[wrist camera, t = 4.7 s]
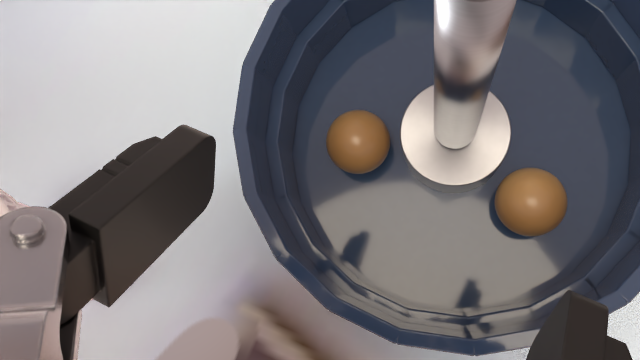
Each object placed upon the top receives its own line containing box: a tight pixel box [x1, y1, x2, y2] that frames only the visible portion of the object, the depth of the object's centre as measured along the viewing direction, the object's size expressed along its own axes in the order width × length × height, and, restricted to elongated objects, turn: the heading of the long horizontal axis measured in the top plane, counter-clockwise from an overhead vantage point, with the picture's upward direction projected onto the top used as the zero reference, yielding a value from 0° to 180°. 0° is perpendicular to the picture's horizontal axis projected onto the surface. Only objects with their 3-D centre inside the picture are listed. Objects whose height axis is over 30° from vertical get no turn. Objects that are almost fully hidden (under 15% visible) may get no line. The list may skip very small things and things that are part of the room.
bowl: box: [233, 0, 640, 356], centre depth 26 cm, size 18×18×6 cm
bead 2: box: [495, 168, 568, 236], centre depth 26 cm, size 3×3×3 cm
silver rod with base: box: [400, 0, 517, 193], centre depth 19 cm, size 5×5×18 cm
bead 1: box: [326, 110, 390, 174], centre depth 28 cm, size 3×3×3 cm
